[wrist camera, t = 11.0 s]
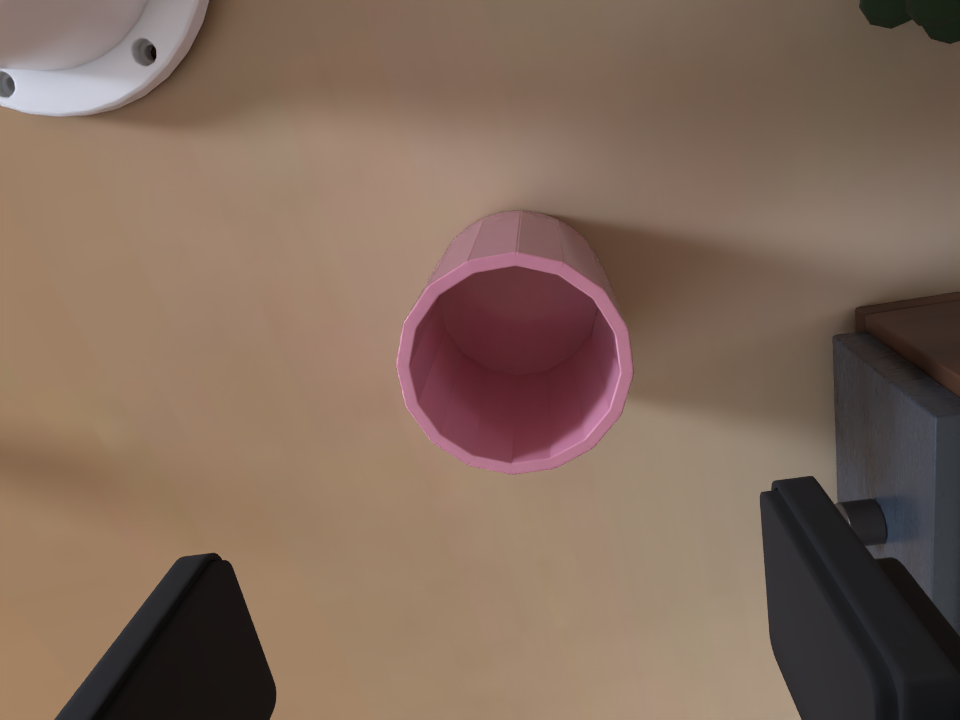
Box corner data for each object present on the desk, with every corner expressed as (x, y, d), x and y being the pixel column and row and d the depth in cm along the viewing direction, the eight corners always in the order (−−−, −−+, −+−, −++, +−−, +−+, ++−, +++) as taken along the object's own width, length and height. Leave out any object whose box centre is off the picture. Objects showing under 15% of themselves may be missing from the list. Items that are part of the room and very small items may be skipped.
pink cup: (452, 388, 30) (425, 486, 22) (416, 227, 28) (373, 276, 20) (616, 363, 29) (645, 457, 21) (593, 195, 27) (616, 234, 19)
